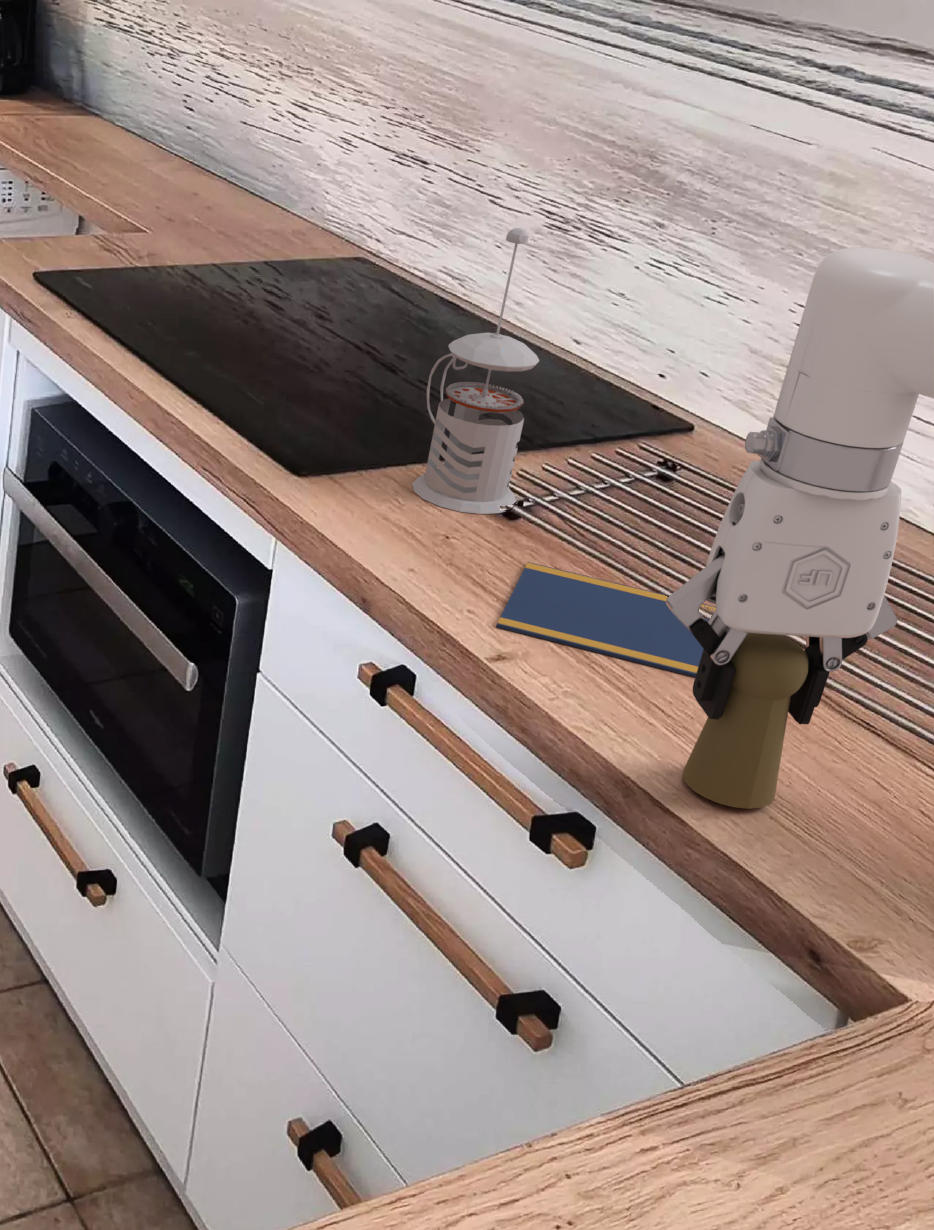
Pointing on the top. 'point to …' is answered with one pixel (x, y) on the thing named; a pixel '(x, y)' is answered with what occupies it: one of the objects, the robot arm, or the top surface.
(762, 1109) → the top surface
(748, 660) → the cork
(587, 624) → the cloth
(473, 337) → the french press
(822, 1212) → the top surface
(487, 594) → the top surface
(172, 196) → the top surface
